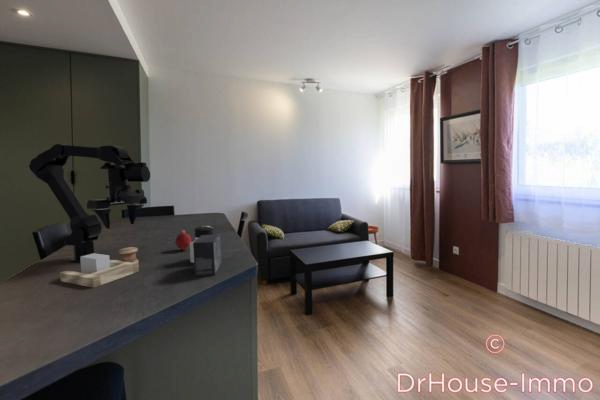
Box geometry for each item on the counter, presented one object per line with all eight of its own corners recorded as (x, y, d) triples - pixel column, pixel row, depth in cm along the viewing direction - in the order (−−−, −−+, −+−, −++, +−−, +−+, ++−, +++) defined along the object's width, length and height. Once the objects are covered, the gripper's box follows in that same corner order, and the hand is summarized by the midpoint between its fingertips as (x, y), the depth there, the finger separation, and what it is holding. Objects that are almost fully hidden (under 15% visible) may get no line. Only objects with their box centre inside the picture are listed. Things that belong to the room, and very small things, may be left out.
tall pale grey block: (81, 276, 88) (80, 256, 88) (95, 271, 92) (93, 253, 91) (97, 279, 86) (95, 259, 85) (110, 274, 89) (109, 255, 89)
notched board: (60, 281, 84) (60, 272, 84) (108, 266, 97) (107, 259, 97) (93, 287, 79) (92, 278, 78) (139, 271, 92) (138, 263, 91)
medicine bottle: (209, 264, 98) (207, 229, 97) (190, 263, 100) (188, 228, 99) (219, 258, 105) (218, 225, 104) (201, 257, 107) (199, 224, 106)
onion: (188, 252, 113) (187, 232, 113) (173, 252, 113) (172, 232, 113) (193, 248, 119) (192, 229, 118) (179, 248, 119) (178, 229, 118)
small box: (202, 265, 97) (200, 234, 96) (222, 264, 98) (221, 233, 97) (193, 276, 87) (191, 241, 86) (215, 275, 87) (214, 241, 86)
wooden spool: (115, 265, 98) (114, 250, 97) (130, 260, 103) (129, 246, 103) (127, 267, 96) (126, 252, 95) (142, 262, 101) (141, 248, 101)
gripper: (107, 183, 91) (111, 232, 92) (156, 181, 108) (159, 223, 109) (83, 183, 95) (87, 230, 96) (135, 181, 112) (137, 221, 113)
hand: (120, 226), depth 104 cm, fingers open, 9 cm apart
